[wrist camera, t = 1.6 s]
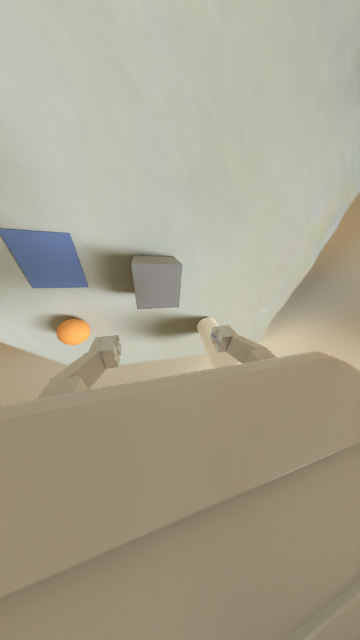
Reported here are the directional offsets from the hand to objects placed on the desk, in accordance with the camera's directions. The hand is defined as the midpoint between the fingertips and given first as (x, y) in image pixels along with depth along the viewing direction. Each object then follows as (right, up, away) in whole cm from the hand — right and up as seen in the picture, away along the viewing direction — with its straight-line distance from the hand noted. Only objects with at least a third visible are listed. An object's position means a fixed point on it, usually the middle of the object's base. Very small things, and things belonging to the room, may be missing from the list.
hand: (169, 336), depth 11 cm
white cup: (+8, 0, +24) cm, 25 cm away
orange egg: (-19, -1, +14) cm, 24 cm away
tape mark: (-19, +10, +9) cm, 23 cm away
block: (-4, +10, +13) cm, 17 cm away
